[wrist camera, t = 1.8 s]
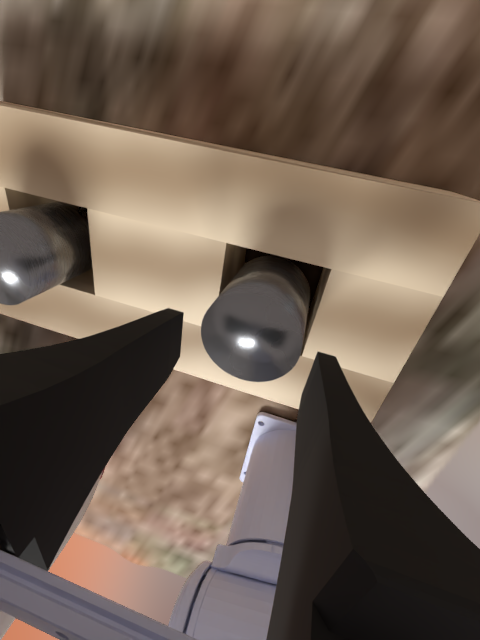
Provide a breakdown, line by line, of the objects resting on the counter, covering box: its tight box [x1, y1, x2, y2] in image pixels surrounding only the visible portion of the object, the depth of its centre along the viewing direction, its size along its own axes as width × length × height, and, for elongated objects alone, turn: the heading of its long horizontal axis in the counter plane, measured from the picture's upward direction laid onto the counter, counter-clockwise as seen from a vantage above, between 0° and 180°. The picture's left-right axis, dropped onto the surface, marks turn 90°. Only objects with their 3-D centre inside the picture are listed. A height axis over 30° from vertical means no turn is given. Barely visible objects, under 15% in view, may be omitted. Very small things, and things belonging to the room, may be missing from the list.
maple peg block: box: [0, 101, 480, 423], centre depth 18 cm, size 12×26×5 cm, turn 80°
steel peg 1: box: [0, 202, 92, 305], centre depth 15 cm, size 4×4×5 cm
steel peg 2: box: [201, 256, 310, 382], centre depth 14 cm, size 4×4×5 cm
